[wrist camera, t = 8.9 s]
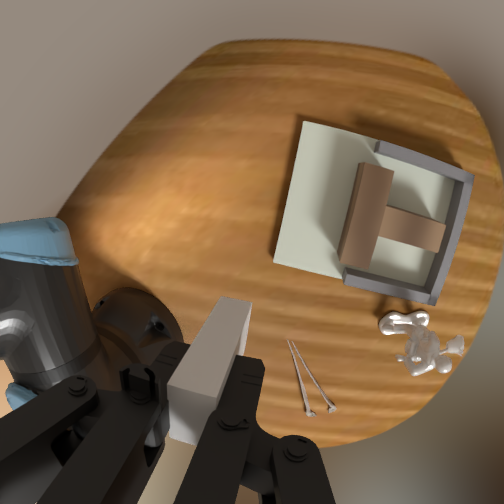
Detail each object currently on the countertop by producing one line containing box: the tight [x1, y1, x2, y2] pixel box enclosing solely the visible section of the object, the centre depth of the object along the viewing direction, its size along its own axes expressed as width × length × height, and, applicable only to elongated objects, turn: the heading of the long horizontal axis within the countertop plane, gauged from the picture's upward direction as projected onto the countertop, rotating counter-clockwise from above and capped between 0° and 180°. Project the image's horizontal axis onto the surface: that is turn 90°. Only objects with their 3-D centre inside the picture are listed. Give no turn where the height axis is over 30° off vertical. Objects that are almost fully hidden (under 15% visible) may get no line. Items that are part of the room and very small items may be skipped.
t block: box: [337, 162, 446, 270], centre depth 28 cm, size 10×10×4 cm
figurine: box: [379, 311, 464, 376], centre depth 28 cm, size 5×9×12 cm, turn 108°
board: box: [273, 121, 475, 306], centre depth 30 cm, size 20×16×3 cm
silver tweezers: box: [287, 340, 336, 417], centre depth 39 cm, size 17×5×2 cm, turn 25°
